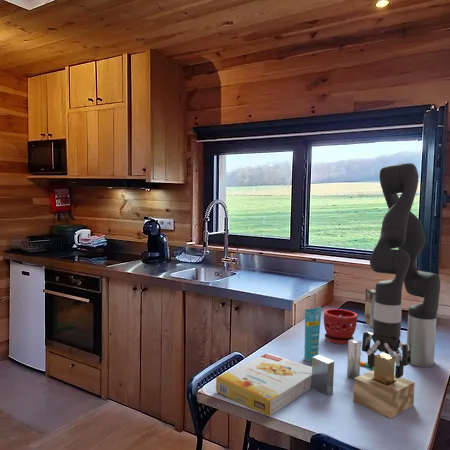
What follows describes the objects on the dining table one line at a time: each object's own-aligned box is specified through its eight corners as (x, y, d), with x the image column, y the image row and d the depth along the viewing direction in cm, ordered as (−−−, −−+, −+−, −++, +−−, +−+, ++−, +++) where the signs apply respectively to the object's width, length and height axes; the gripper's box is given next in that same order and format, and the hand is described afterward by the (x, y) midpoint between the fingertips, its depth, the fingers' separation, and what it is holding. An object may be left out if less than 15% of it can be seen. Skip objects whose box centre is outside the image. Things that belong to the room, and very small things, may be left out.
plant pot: (355, 348, 168) (356, 318, 167) (321, 344, 172) (322, 314, 171) (356, 337, 180) (357, 309, 179) (324, 333, 184) (325, 306, 183)
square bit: (380, 391, 128) (382, 352, 127) (393, 396, 124) (395, 357, 123) (372, 395, 125) (374, 355, 124) (385, 400, 122) (387, 360, 121)
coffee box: (363, 321, 203) (365, 288, 201) (377, 321, 203) (378, 288, 201) (370, 327, 193) (371, 292, 192) (384, 327, 193) (385, 293, 192)
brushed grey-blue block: (317, 385, 136) (318, 354, 135) (332, 392, 131) (334, 361, 130) (311, 387, 134) (312, 357, 133) (326, 395, 129) (327, 363, 128)
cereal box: (215, 376, 129) (267, 350, 151) (214, 393, 130) (267, 365, 151) (270, 399, 116) (319, 367, 138) (269, 419, 117) (319, 383, 138)
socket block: (376, 389, 133) (377, 368, 133) (413, 405, 124) (414, 382, 123) (353, 401, 126) (354, 378, 125) (390, 418, 116) (391, 394, 116)
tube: (308, 363, 153) (310, 311, 151) (299, 358, 157) (300, 307, 155) (323, 359, 157) (325, 308, 155) (313, 354, 161) (315, 304, 159)
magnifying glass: (394, 371, 148) (394, 366, 148) (389, 377, 143) (389, 372, 143) (351, 360, 157) (351, 355, 157) (345, 365, 152) (345, 360, 152)
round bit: (351, 373, 145) (353, 338, 144) (362, 377, 142) (363, 342, 141) (344, 376, 143) (345, 341, 142) (354, 380, 140) (356, 344, 139)
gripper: (417, 321, 119) (414, 377, 121) (372, 309, 131) (370, 361, 132) (403, 326, 115) (400, 384, 116) (358, 314, 126) (355, 367, 127)
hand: (384, 372), depth 124 cm, fingers open, 8 cm apart
